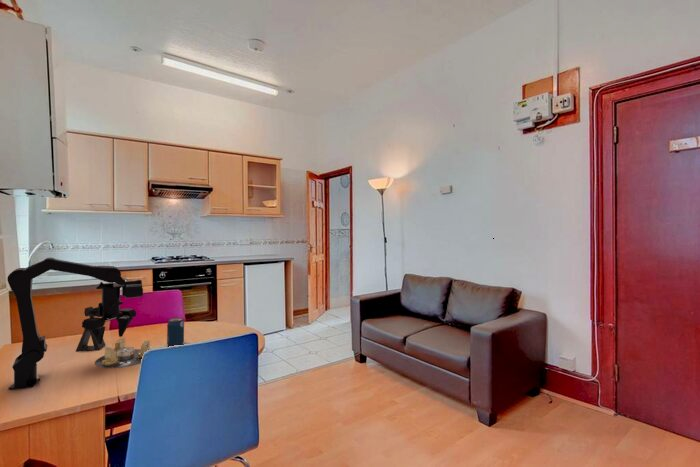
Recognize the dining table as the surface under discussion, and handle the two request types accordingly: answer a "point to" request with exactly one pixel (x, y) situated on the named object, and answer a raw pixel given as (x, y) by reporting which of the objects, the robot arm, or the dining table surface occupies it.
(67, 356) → the dining table surface
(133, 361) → the levelling base
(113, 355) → the wing knob
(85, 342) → the phone stand
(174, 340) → the soda can
